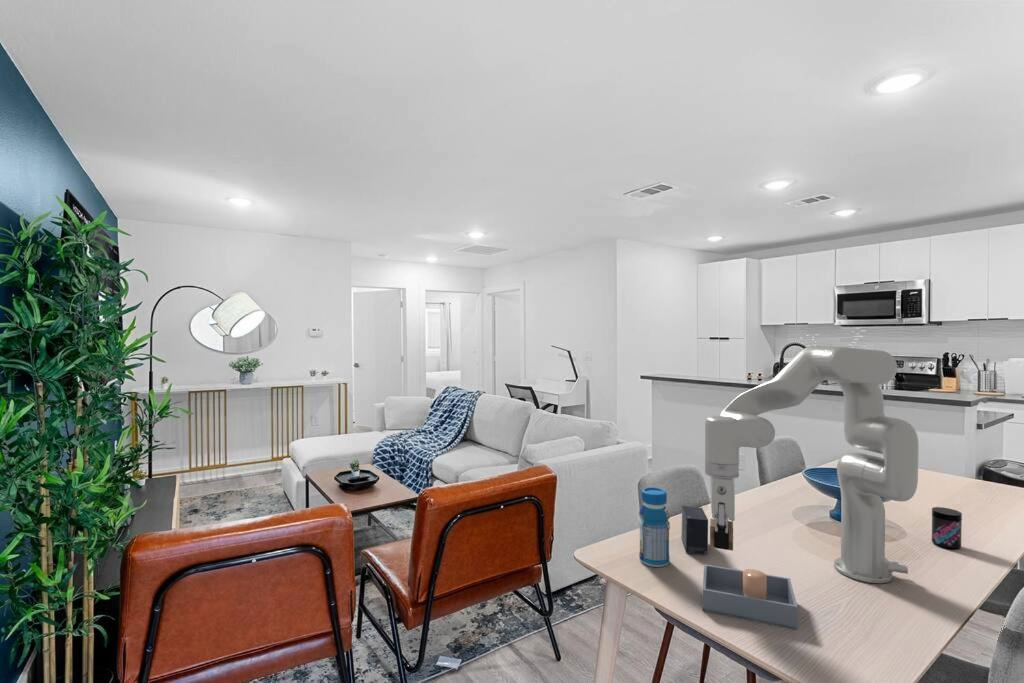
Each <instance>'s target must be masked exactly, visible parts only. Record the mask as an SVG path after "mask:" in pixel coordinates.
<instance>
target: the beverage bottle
mask: <svg viewBox="0 0 1024 683" xmlns="http://www.w3.org/2000/svg"><path fill="white" fill-rule="evenodd" d="M667 498H668V497H667V491H666V490H665V489H663V488H660V487H653V486H651V487H644V488H643V489H641V502H642V503H643V504H642V505H641V507H640V509H639V511H638V514H639V517H640V518H639V520H638V527H639V553H638V554H639V557H638V558H639V560H640V562H641V563H643V564H644V565H645V566H649V567H653V568H654V567H655V568H663V567H666V566H667V565H669V563H670V528H671V524H670V521H669V519H670V513H669V510H668V508H667V507H666V504H667V502H668V501H667Z"/></svg>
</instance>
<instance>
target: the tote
mask: <svg viewBox="0 0 1024 683" xmlns="http://www.w3.org/2000/svg"><path fill="white" fill-rule="evenodd" d="M743 571H744V570H741V569H734V568H728V567H723V566H719V565H717V566H716V565H712V564H711V565H710V564H705V563H704V565H703V576H702V578H703V579H702V611H703V612H705V613H706V612H707V613H712V614H717V615H722V616H727V617H731V618H738V619H742V620H747V621H751V622H752V621H753V622H756V623H757V622H758V623H761V624H768V625H771V626H777V627H781V628H786V629H787V628H788V629H793V630H796V631H797V630H799V629H798V620H799V619H798V618H799V617H798V616H799V615H798V614H799V613H798V610H799V608H798V604H797V600H796V596H795V592H794V589H793V585H792V582H791V578H790V577H789V578H788V577H785V576H784V577H783V576H778V575H771V574H766V573H764V574H765V575H766V576H767V600H764V599H759V598H753V597H748V596H743Z"/></svg>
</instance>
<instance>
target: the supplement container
mask: <svg viewBox="0 0 1024 683" xmlns="http://www.w3.org/2000/svg"><path fill="white" fill-rule="evenodd" d="M962 522H963V513H962V512H961V511H959V510H957V509H953V508H949V507H941V506H940V507H939V506H934V507H932V508H931V543H932V544H933V545H935V546H936V547H939V548H940V549H945V550H949V551H958V550H960V549H961V548H962V526H963V525H962Z"/></svg>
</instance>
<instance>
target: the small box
mask: <svg viewBox="0 0 1024 683" xmlns="http://www.w3.org/2000/svg"><path fill="white" fill-rule="evenodd" d="M680 538H681V541H682V545H683V548H684V550H685V553H686V554H695V555H707V556H708V553H709V519H708V516H707V515H706V513H705V511H704V508H703V507H699V506H698V507H697V506H688V505H681V537H680Z"/></svg>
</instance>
